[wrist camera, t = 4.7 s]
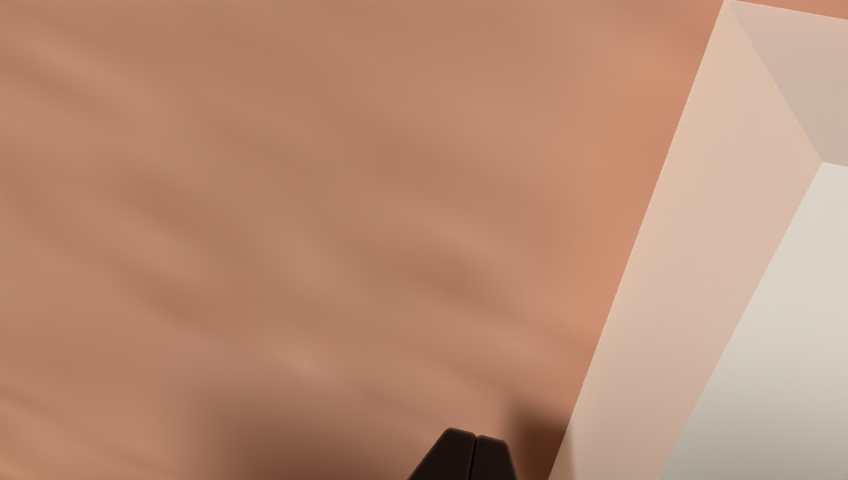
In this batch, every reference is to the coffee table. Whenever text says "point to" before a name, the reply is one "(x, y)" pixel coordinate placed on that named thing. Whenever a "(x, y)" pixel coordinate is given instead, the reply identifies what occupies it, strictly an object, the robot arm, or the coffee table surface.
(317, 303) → the coffee table surface
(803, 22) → the carton
